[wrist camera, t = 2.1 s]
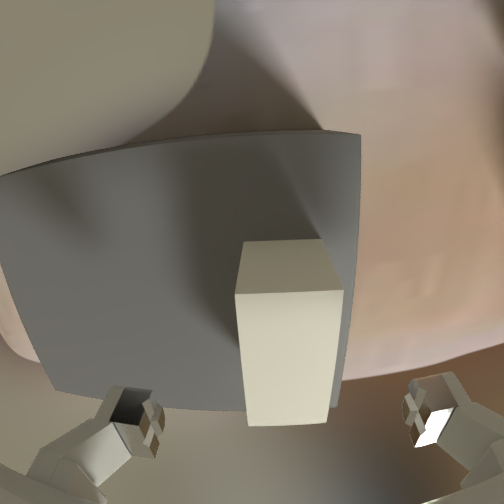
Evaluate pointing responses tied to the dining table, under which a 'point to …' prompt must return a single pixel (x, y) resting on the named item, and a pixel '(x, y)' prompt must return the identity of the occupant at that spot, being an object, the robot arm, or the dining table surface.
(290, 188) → the lid
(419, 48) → the dining table surface
